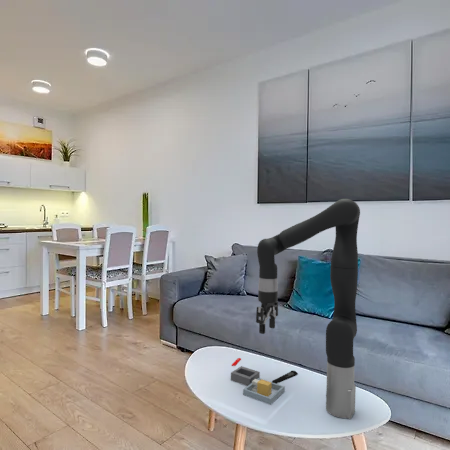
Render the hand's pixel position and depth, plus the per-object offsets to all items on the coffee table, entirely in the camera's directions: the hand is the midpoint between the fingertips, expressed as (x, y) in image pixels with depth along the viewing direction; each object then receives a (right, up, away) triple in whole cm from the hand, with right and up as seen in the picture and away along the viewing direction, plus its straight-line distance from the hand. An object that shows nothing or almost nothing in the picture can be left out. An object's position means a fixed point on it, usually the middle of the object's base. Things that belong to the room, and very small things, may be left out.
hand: (267, 330), depth 132 cm
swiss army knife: (-11, -24, +25) cm, 36 cm away
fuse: (-5, -21, -1) cm, 22 cm away
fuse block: (-8, -24, +7) cm, 26 cm away
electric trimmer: (+9, -25, +9) cm, 28 cm away
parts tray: (-2, -24, -4) cm, 24 cm away
